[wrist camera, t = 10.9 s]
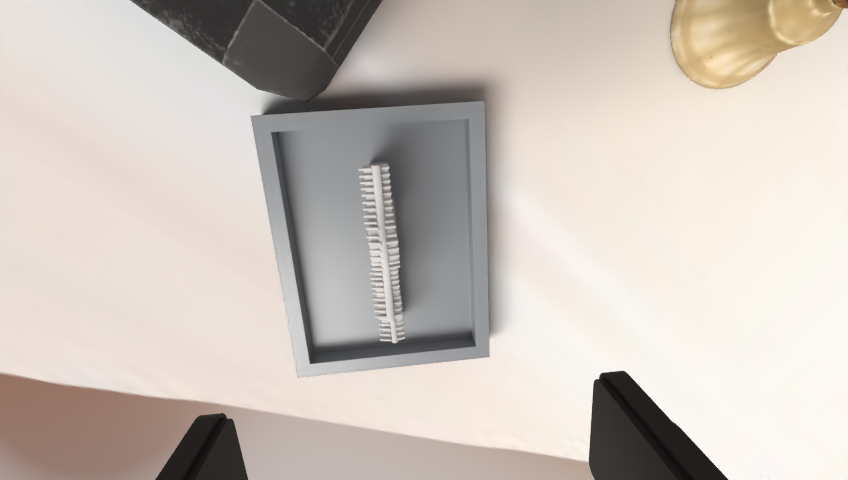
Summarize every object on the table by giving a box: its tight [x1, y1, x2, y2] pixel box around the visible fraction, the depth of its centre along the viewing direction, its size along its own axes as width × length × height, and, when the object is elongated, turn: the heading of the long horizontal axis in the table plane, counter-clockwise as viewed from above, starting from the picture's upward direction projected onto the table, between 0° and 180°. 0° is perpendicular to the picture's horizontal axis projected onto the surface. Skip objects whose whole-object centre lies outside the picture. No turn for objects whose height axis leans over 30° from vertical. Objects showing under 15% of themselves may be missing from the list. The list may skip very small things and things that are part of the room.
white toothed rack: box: [358, 162, 405, 343], centre depth 25 cm, size 12×2×6 cm, turn 4°
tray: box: [251, 101, 489, 378], centre depth 28 cm, size 14×18×2 cm
